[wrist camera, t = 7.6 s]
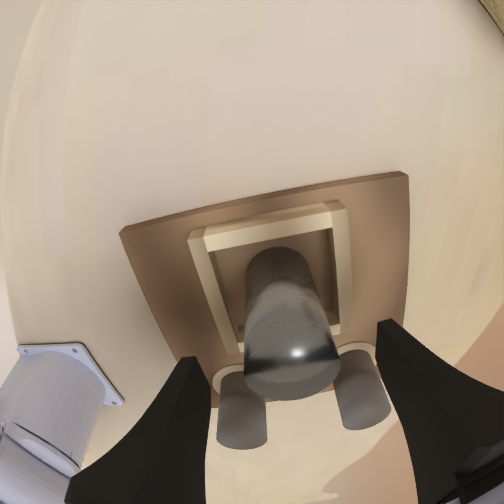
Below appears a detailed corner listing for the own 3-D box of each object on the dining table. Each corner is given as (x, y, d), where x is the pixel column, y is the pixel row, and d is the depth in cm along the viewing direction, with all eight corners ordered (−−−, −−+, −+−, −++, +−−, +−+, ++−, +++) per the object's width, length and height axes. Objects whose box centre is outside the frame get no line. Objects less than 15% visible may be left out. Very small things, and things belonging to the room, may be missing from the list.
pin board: (205, 399, 23) (198, 459, 18) (124, 226, 16) (76, 280, 11) (391, 365, 22) (415, 421, 16) (400, 171, 15) (463, 204, 10)
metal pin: (253, 307, 18) (255, 406, 11) (238, 254, 16) (232, 349, 10) (313, 295, 17) (341, 390, 11) (305, 240, 16) (338, 328, 9)
